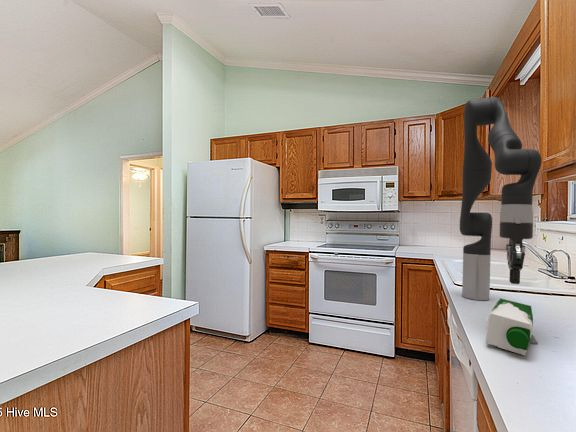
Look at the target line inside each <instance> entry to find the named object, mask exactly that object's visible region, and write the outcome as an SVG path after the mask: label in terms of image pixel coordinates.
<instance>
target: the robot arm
mask: <svg viewBox="0 0 576 432" xmlns="http://www.w3.org/2000/svg"><path fill="white" fill-rule="evenodd" d="M510 123H511V122H510V119H509V116H508V114H507V111H506V109H505V106H504V103H503V102H502V100H501V99H500V98H499V97H498V96H497V97H495V96H491V97H490V96H489V97H483V98H482V97H481V98H474V99H470V100H467V101H466V102H465V105H464V110H463V132H464V133H463V136H464V151H463V164H462V194H461V196H462V197H461V207H460V217H459V232H460V234H461V235H462V236H464V237H465V236H467V237H481V238H480V239H479V240H478V241H475V242H472V243H469V244H465V245H463V249H462V283H461V284H462V285H461V286H462V289H461V292H462V293H461V295H462V297H463V298H465V299H468V300H474V301H489V300H490V297H491V295H490V292H491V291H490V288H491V287H490V285H491V281H490V280H491V253H492V252H491V251H492V250H491V249H492V248H491V247H492V246H491V245H492V233H493V232H492V231H493V217H492V214H491V213H489V212H471V211H472V207H473V205H474V203H475V202H476V200H477V199H478V197H479V196H480V195H481V194H482V193H483V192H484V191H485V189H487V187H488V186H489V185H490V183H491V180H492V174H493V173H492V171H493V170H492V169H493V162H492V161H493V160H492V159H491V157H490V155H489V154H488V152H487V151H486V150H485V148H484V147H483V145H482V144H481V143H480V140H479V137H478V135H477V127H483V126H491V125H493V126H492V127H491V129H490V130H489V132H488V134H487V135H488V136H487V140H488V144H489V147H491V150H492V151H493V153H494V168H495V171H497V173H499V174H501V175H504V176H509V175H510V176H518V175H519V176H520V178H519V179H518V181H517V182H511V183H506V184H504V185H502V188H501V198H500V200H501V201H500V203H501V204H500V212H499V237H500V238H501V239H502V238H503V239H508V243H507V244H505V250H506V260H507V265H508V269H509V283H510V284H512V285H519V284H520V282H521V271H522V270H523V268H524V267H523V266H524V261H525V257H526V245H523V242H524V241H523V240H531V239H533V237H534V235H533V233H534V229H533V228H534V210H533V197H534V196H533V191H534V186H535V183H536V181H537V177H538V175H539V172H540V169H541V166H542V163H543V161H542V158H543V157H542V156H541V153H540V152H539V151H538V150H536V149H532V148H526V149H525V148H524V149H523V144H522V140H521V139H520V138H519V136H518V135H517V133H516V132H515V130H513V128H512V125H511V124H510Z"/></svg>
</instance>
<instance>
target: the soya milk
mask: <svg viewBox="0 0 576 432" xmlns="http://www.w3.org/2000/svg"><path fill="white" fill-rule="evenodd" d="M532 310H533V309H532V305H530V304H525V303H521V302H517V301H512V300H509V299H504V298H499V300H498V301H497V302H496V303H495V305H494V306H493V308H492V309H491V311H490V313H489V314H488V317H487V322H486V323H487V324H486V336H485V343H486V344H488V345H492V346H495V347H497V348H499V349H503V350H506V351H509V352H513V353H516V354H519V355H522V356H526V354H527V352H528V348H529V344H530V343H529V342H530V338H531V334H532V335H533V326H534V318H533V317H534V316H533V311H532Z"/></svg>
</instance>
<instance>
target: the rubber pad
mask: <svg viewBox="0 0 576 432" xmlns="http://www.w3.org/2000/svg"><path fill="white" fill-rule="evenodd" d="M538 343H539V342H538V341H537V339H536V338H535V336H534V334H533V333H532V334H531V338H530V342H529V344H533V345H538Z"/></svg>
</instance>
